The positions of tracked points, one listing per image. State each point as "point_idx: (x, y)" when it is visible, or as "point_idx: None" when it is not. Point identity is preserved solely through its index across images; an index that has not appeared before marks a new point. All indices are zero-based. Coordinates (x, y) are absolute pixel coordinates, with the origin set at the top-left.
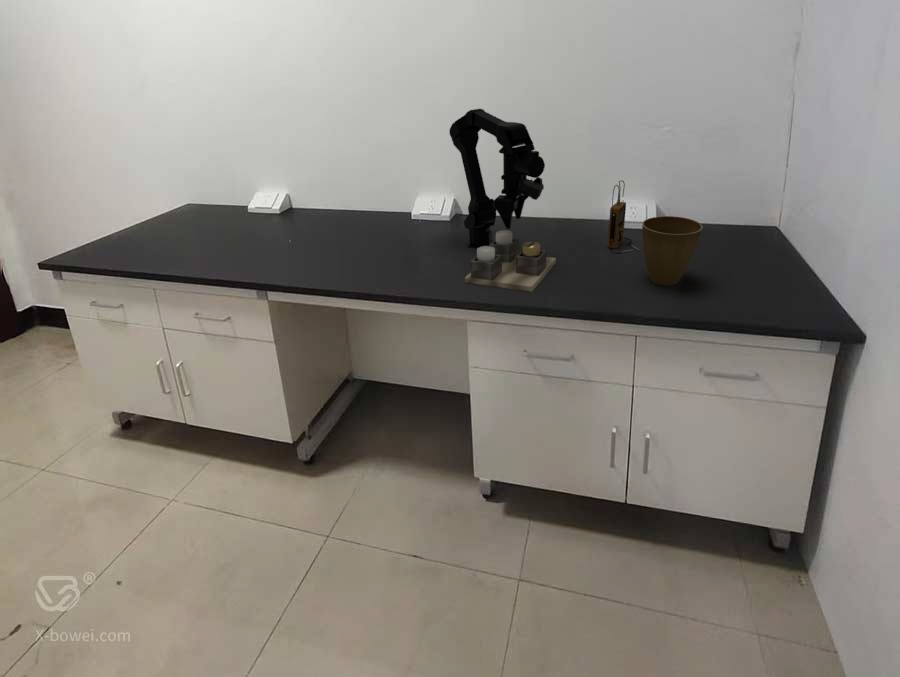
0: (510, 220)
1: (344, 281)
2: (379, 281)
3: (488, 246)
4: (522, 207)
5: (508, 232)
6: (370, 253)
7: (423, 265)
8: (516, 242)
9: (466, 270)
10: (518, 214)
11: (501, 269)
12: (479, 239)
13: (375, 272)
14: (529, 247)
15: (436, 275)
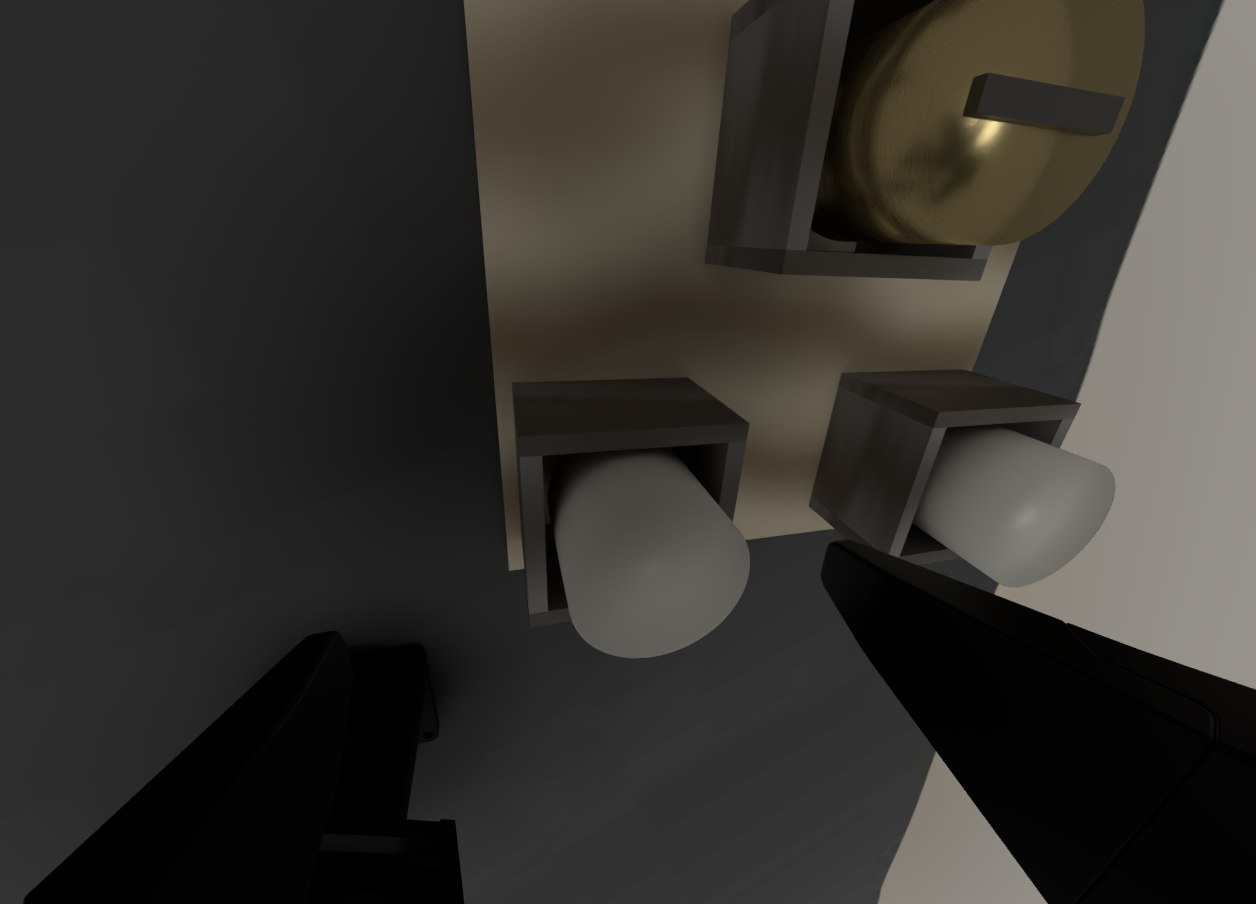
0: (1032, 611)
1: (878, 801)
2: (879, 742)
3: (1001, 538)
4: (97, 902)
5: (633, 558)
6: (655, 900)
7: (730, 730)
8: (585, 426)
9: (759, 568)
10: (313, 726)
11: (862, 377)
12: (408, 731)
13: (811, 792)
14: (1123, 108)
15: (824, 639)
